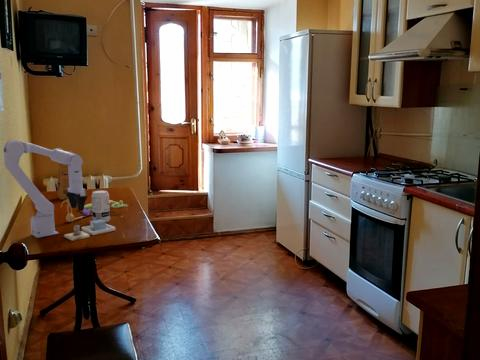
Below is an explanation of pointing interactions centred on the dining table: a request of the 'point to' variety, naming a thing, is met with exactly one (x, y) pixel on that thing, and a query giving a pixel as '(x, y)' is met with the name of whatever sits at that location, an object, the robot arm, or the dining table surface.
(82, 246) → the dining table surface
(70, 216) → the figurine
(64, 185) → the coffee package
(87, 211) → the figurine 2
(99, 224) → the pale blue cube
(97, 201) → the supplement can
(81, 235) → the post stand
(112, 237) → the dining table surface
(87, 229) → the tray
